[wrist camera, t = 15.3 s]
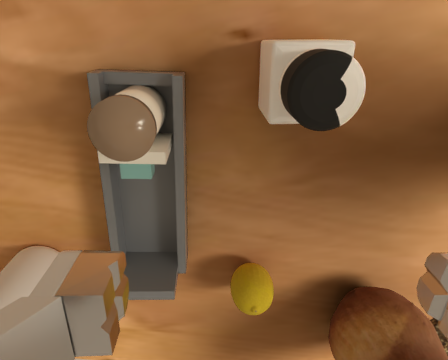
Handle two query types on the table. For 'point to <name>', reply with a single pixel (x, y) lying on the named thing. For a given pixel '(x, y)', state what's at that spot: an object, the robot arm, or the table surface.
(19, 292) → the milk bottle
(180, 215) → the lane
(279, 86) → the medicine bottle
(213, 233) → the table surface
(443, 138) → the table surface
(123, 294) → the robot arm
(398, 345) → the butternut squash
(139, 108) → the jar
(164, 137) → the pusher
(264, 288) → the lemon
